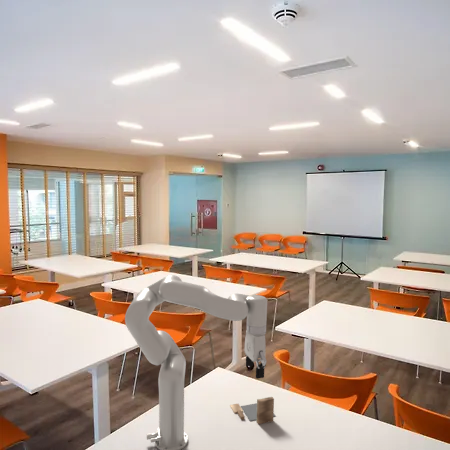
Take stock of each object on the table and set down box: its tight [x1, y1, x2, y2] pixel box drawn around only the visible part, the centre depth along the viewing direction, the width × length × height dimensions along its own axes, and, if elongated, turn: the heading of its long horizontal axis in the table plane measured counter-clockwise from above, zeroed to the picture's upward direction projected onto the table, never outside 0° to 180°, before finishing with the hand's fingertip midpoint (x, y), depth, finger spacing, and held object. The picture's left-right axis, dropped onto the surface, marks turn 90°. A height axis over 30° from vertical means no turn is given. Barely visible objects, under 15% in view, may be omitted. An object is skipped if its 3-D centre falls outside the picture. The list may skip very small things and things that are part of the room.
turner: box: [229, 403, 246, 421], centre depth 159 cm, size 4×11×1 cm, turn 18°
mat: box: [240, 402, 276, 422], centre depth 160 cm, size 12×11×1 cm
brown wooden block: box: [255, 396, 275, 425], centre depth 153 cm, size 7×2×10 cm, turn 108°
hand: (254, 371), depth 139 cm, fingers open, 9 cm apart
